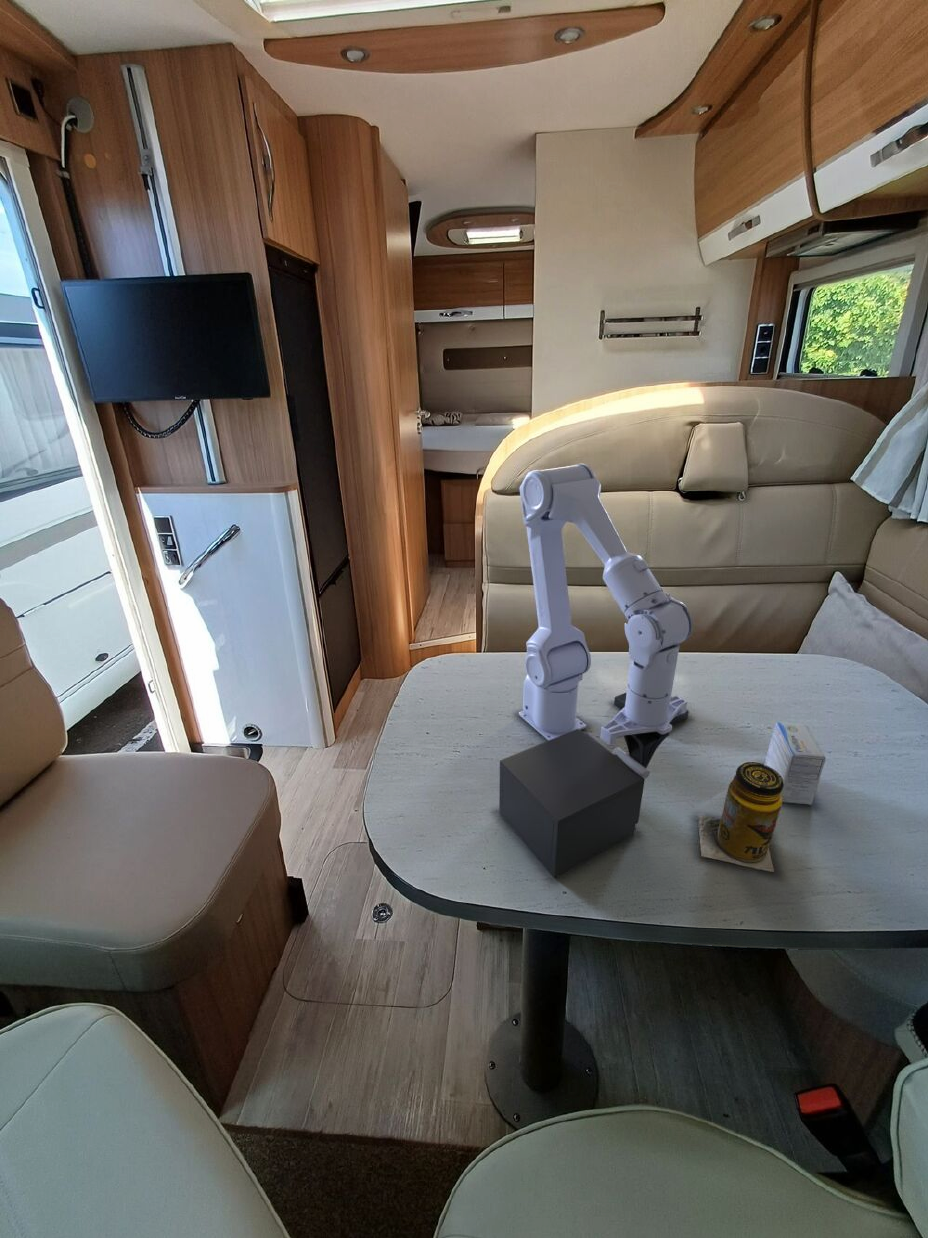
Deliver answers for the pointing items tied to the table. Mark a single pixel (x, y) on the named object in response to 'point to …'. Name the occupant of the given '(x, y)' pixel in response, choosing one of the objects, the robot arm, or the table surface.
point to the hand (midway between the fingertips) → (638, 765)
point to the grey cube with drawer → (568, 800)
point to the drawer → (629, 767)
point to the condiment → (745, 819)
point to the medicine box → (796, 761)
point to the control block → (621, 701)
